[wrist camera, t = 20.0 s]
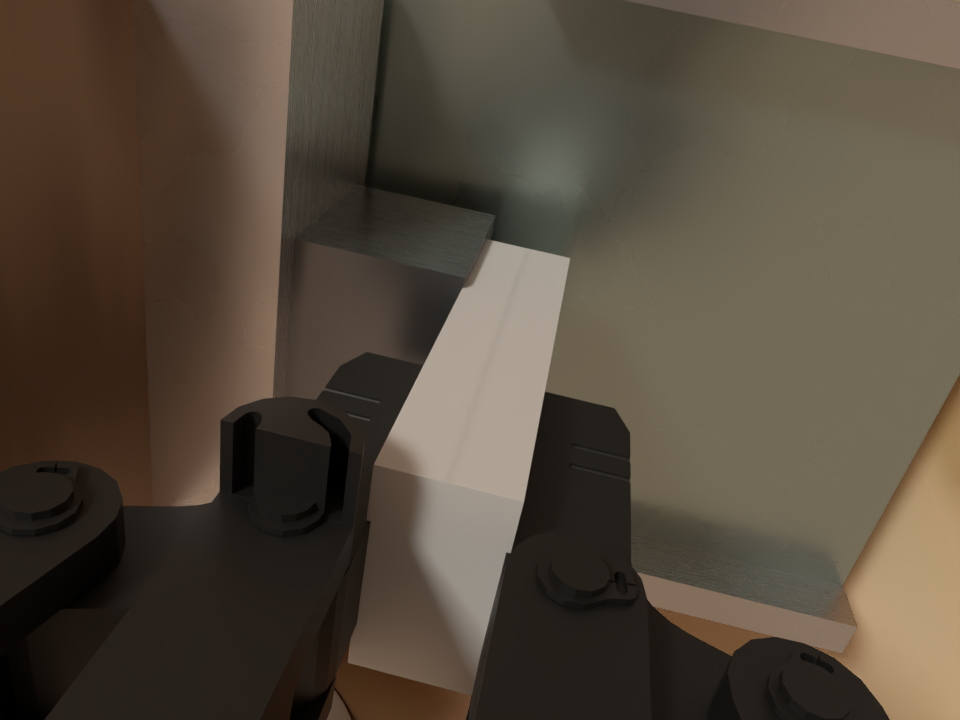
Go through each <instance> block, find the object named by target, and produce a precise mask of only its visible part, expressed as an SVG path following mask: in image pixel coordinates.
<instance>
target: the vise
mask: <svg viewBox="0 0 960 720" xmlns="http://www.w3.org/2000/svg"><path fill="white" fill-rule="evenodd" d="M365 186H367V187H371V188H376V189H380V190H385V191H389V192H394V193H398V194H403V195H407V196H412V197H416V198H421V199H425V200H430V201H434V202H439V203H443V204H448V205H452V206H457V207H461V208H465V209H470V210H474V211H479V212H483V213H488V214H492V215H496V216H495V221H494V227H493V232H492V237H491V240H492V241H497V242H501V243H506V244H510V245H514V246H519V247H523V248H528V249H532V250H537V251H541V252H545V253H550V254H554V255H559V256H563V257H568V258H570V262H569V267H568V272H567V277H566V283H565V288H564V293H563V299H562V304H561V309H560V314H559V320H558V325H557V330H556V336H555V341H554V346H553V351H552V357H551V362H550V367H549V372H548V378H547V383H546V388H545V392H549V393H553V394H557V395H561V396H566V397H570V398H574V399H578V400H582V401H587V402H591V403H595V404H599V405H603V406H608V407H612V408H615V409H616V411H617V412H618V414H619V416H620V417H621V419H622V420H623V422H624V424H625V425H626V427H627V428H628V430H629V432H630V461H629V462H630V464H631V478H630V483H631V563H632V567H633V568H634V570H635V571H636V572H637V573H638V575H639V576H640V577H641V579H642V582H643V586H644V589H645V593H646V596H647V600H648V601H649V602H650V603H651V605H652V606H654V607H658V608H662V609H666V610H670V611H674V612H678V613H682V614H686V615H690V616H694V617H698V618H702V619H706V620H710V621H714V622H718V623H722V624H726V625H730V626H734V627H738V628H742V629H746V630H750V631H754V632H758V633H762V634H766V635H770V636H774V637H779V638H783V639H788V640H792V641H797V642H801V643H805V644H807V645H809V646H813V647H817V648H821V649H825V650H829V651H833V652H837V653H841V654H842V653H843V651H844V649H845V648H846V646H847V644H848V643H849V641H850V639H851V637H852V636H853V634H854V632H855V631H856V629H857V624H856V621H855V619H854V616H853V613H852V610H851V607H850V604H849V602H848V599H847V596H846V593H845V590H844V587H843V584H844V582H845V580H846V579H847V577H848V575H849V573H850V571H851V570H852V568H853V566H854V564H855V562H856V561H857V559H858V557H859V555H860V553H861V552H862V550H863V548H864V546H865V544H866V542H867V541H868V539H869V537H870V535H871V533H872V532H873V530H874V528H875V526H876V524H877V523H878V521H879V519H880V517H881V515H882V514H883V512H884V510H885V508H886V506H887V505H888V503H889V501H890V499H891V497H892V496H893V494H894V492H895V490H896V488H897V487H898V485H899V483H900V481H901V479H902V478H903V476H904V474H905V472H906V470H907V469H908V467H909V465H910V463H911V461H912V460H913V458H914V456H915V454H916V452H917V451H918V449H919V447H920V445H921V443H922V442H923V440H924V438H925V436H926V434H927V433H928V431H929V429H930V427H931V425H932V424H933V422H934V420H935V418H936V416H937V415H938V413H939V411H940V409H941V407H942V406H943V404H944V402H945V400H946V398H947V397H948V395H949V393H950V391H951V389H952V388H953V386H954V384H955V382H956V380H957V379H958V377H959V375H960V2H955V1H950V0H384V6H383V15H382V25H381V34H380V44H379V54H378V63H377V73H376V82H375V92H374V102H373V111H372V121H371V130H370V140H369V150H368V159H367V169H366V178H365Z"/></svg>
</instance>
